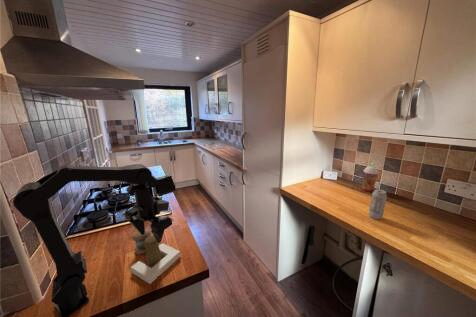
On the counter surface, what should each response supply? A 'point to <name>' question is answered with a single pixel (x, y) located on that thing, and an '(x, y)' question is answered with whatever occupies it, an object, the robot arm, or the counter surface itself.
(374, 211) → the energy drink can
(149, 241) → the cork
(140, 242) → the brown spool-shaped piece
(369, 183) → the smoothie
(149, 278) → the notched board
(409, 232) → the counter surface
